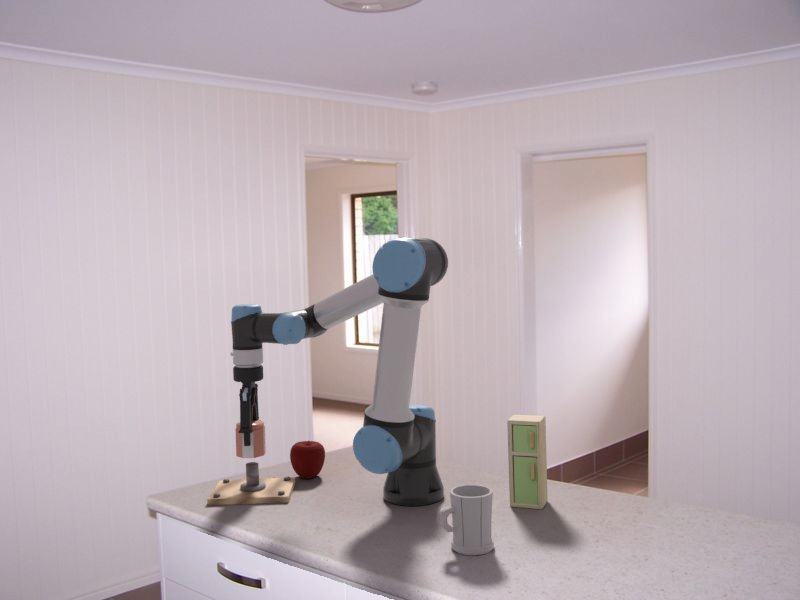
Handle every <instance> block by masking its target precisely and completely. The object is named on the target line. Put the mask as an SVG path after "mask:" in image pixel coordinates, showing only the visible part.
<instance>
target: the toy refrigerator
mask: <svg viewBox="0 0 800 600" xmlns="http://www.w3.org/2000/svg"><path fill="white" fill-rule="evenodd" d="M546 424H547V423H546V415H540V414H539V415H538V414H518V413H517V414H512V415H511V416H510V417H509V418H508V419H507V450H508V451H507V452H508V484H509V487H508V488H509V489H508V490H509V507H511V508H522V509H534V510H542V509H544V507H545V505H546V504H547V502H548V497H549V496H548V473H547V472H548V470H547V469H548V467H547V466H548V465H547V463H548V461H547V431H546V430H547V429H546Z"/></svg>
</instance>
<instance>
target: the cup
mask: <svg viewBox="0 0 800 600" xmlns="http://www.w3.org/2000/svg"><path fill="white" fill-rule="evenodd" d="M493 491H494V489H492V488H490V487H489V486H486V485H480V484H462V485H456V486H454V487H452V488H451V489H449V498H450V504H449V505H447V506H444V507H441V509H440V511H439V519H440V527H441V528H442V529H443V530H444V531H445V532H447V533H452V538H451V539H450V541H451V542H450V545H451V546H450V547H451V549H452V551H454V552H456V553H458V554H461V555H464V556H482V555H485V554H488V553H490V552H492V550H493V549H494V547H495V545H494V539H493V538H492V518H493V515H492V514H493V510H492V509H493V496H494V495H493V494H494V492H493ZM449 515H451V517H452V520H451V521H452V524H451V525H450V524H449V523H448V517H449Z"/></svg>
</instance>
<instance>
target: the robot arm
mask: <svg viewBox="0 0 800 600" xmlns="http://www.w3.org/2000/svg"><path fill="white" fill-rule="evenodd" d="M371 266H372V267H371V268H372V274H369V276H367V277H365V278H363V279H360V280H359V281H357V282H355V283H353V284H351V285H349V286H347V287H345V288H343V289H341V290H339V291H337V292H335V293H334V294H331V295H329V296H327V297H326V298H323V299H321V300H319V301H317V302H316V303H314V304H312V305H310V306H308V307H305V308H304V309H299V310H292V311H286V312H280V313H279V312H277V313H272V312H271V313H270V312H267V313H266V312H263V310H262V306H261V305H260V304H256V303H246V304H244V303H243V304H236V305H234V306H233V307H232V308H231V321H230V325H231V335H232V336H231V337H232V352H230V357H233V358H232V364H233V365H234V366H233V367H232V373H233V374H232V375H233V377H232V378H233V381H234V382H236V383H241V388H240V389H239V394H238V396H239V417H240V418H239V422H240V431H239V433H242V453H243V458H242V459H255V458H254V443H253V432H252V421H253V420H255V421H261V420H260V415H259V396H258V391H259V389H258V387H259V385H258V383H256V382H260V381H263V379H264V366H263V365H262V364H263V363H264V350H263V349H264V348H263V344H266V343H267V344H279V345H284V346H287V345H297V344H299V343H300V342H301V341H302V340H305V339H309V338H316V337H319V336H322V335H324V334H325V333H326V332H327V331H328V330H329V329H331V328H334V327H336V326H338V325H340V324H342V323H344V322H346V321H349V320H350V319H352V318H355V317H357V316H358V315H360V314H363V313H364V312H366V311H367V312H368V311H369V310H371V309H373V308H375V307H377V306H379V305H381V304H383V307H382V315H381V324H380V325H381V326H380V332H379V333H380V334H379V340H378V351H377V360H376V368H375V378H374V387H373V393H372V394H373V395H372V402H371V404H370V405H369V406H368V407H367V408H365V410H364V416H363V424H362V427H360V428H359V430H357V432H356V433H355V434H354V437H353V439H352V450H353V454H354V456H355V459H356V460H357V461H358V463H359V464H360V466H361V467H362V468H364V470H365V471H368V472H370V473H371V474H376V475H385V474H386V478H385V481H384V484H383V488H382V489H383V491H382V492H383V495H382V497H383V499H384V501H386V502H387V503H390V504H393V505H397V506H398V505H399V506H406V507H407V506H410V507H414V506H415V507H416V506H427V505H430V504H431V505H432V504H434V503H437V502H440V501H441V500H442V499H443V498H444V497H445V489H444V488H445V487H444V483H443V481H442V479H441V476H440V472H439V470H438V467H437V447H436V446H437V443H436V441H437V440H436V439H437V438H436V436H437V434H436V423H437V420H436V415H435V414H436V413H435V409H434V408H433V407H432V406H429V405H424V404H423V405H422V404H412V403H411V404H410V402H411V393H412V384H413V377H414V369H415V361H416V354H417V353H416V352H417V347H418V343H417V342H418V336H419V329H420V328H419V327H420V319H421V312H422V307H423V306H424V305H425V304H426V303H428V302H429V299H430V293H431V287H432V286H436V285H437V284H438V283H439V282H441V281H442V280H443V278H444V277H445V276H446V273H447V271H448V267H449V259H448V255H447V252H446V250H445V248H444V247H443V246H442V245H441V244H440V243H439V242H437V241H436V240H434V239H432V238H428V237H427V238H426V237H420V238H419V237H418V238H417V237H415V238H414V237H400V238H399V237H398V238H395V239H391V240H389V241H387V242H385V243H384V244H383V245H382V246H380V247H379V249H378V250H377V251H376V253H375V255H374V257H373V261H372V265H371Z"/></svg>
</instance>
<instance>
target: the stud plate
mask: <svg viewBox="0 0 800 600" xmlns="http://www.w3.org/2000/svg"><path fill="white" fill-rule="evenodd" d="M259 468H260V467H259V462H257V461H251V462H247V463H245V476H246V478H243V479H241V478H240V479H238V478H237V479H229V478H225V479H220V480H219V481H218V482H217V485H216V486H214V488H213V490H212V492H211V493H210V494H209V496H208V498H207V501H206V502H207V506H222V505H225V506H226V505H250V504H254V505H255V504H277V503H278V504H279V503H281V504H282V503H283V504H284V503H290V500H291V497H292V494H293V491H294V488H295V486H296V477H293V476H292V477H290V476H284V477H271V478H268V477H267V478H260V471H259Z"/></svg>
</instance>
